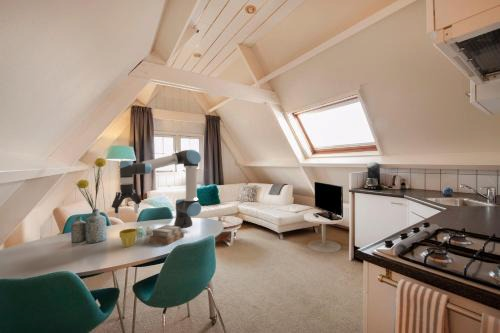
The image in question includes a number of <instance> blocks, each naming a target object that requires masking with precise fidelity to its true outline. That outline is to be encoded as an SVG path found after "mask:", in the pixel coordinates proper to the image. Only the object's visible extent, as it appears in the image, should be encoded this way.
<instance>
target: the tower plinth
mask: <svg viewBox="0 0 500 333" xmlns="http://www.w3.org/2000/svg"><path fill="white" fill-rule="evenodd" d="M184 234H185V232H184V231H182V230H181V228H180V227H178V226H174V225H169V224H165V225H163V226H161V227H158V228H156V229H155V228H154V229H153V230H152V235H149V243H152V244H159V245H164V246H169V245H171V244H172V243H175V242H177V241H179V240H181V239H183V238H184V237H185V236H184Z"/></svg>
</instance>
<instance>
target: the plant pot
mask: <svg viewBox="0 0 500 333" xmlns="http://www.w3.org/2000/svg"><path fill="white" fill-rule="evenodd" d="M118 234H119V238H120V240H121V243H122V246H123V247H124V248H128V247H133V246H134V245H135V241H136V237H137V235H138V229H136V228H126V229H122V230H120V231H119V233H118Z"/></svg>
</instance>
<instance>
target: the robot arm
mask: <svg viewBox="0 0 500 333" xmlns="http://www.w3.org/2000/svg"><path fill="white" fill-rule="evenodd" d="M201 160H202V156H201V153H200V152H199V151H198V150H196V149H184V150H181V151H178V152H175V153H174V152H173V153H171V155H167V156H163V157H157V158H153V159H149V160H148V159H147V160H143V161H140V162H139V161H138V162H133V160H120V161H119V184H120V185H119V190H120V192H117V191H116V192H115V197H114V199H113V201H112V204H111V206H110V207H111V208H113V209H114V213H115V218H116V219H121V209H120V206H121V204H122V203H123V201H124V200H125V199H127V198H130V199H131V201H133V202H134V205H133V206H134V207H133V208H134V209H133V211H134V214H136V215H137V214H139V208H140V203H141V202H142V200H141V197H140V195H139V193H138V190H137V189H134V184H133V183H134V175H149V174H151V172H152V170H156V169H160V168H164V167H168V166H171V165H172V166H173V165H175V166H177V165H183V167H184V168H185V198H180V199H177V200H175V220H174V224H173V226H178V227H180V229H185V228H190V227H191V226H193V220H192V217H193V218H194V217H197V216H198V215H199V214H200V213H201V211H202V205H201V204H200V203H199V198H198V196H197V195H198V194H197V192H198V190H197V188H198V187H197V186H198V185H197V183H198V182H197V174H198V173H197V169H198V167H199V164H200V162H201Z"/></svg>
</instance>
